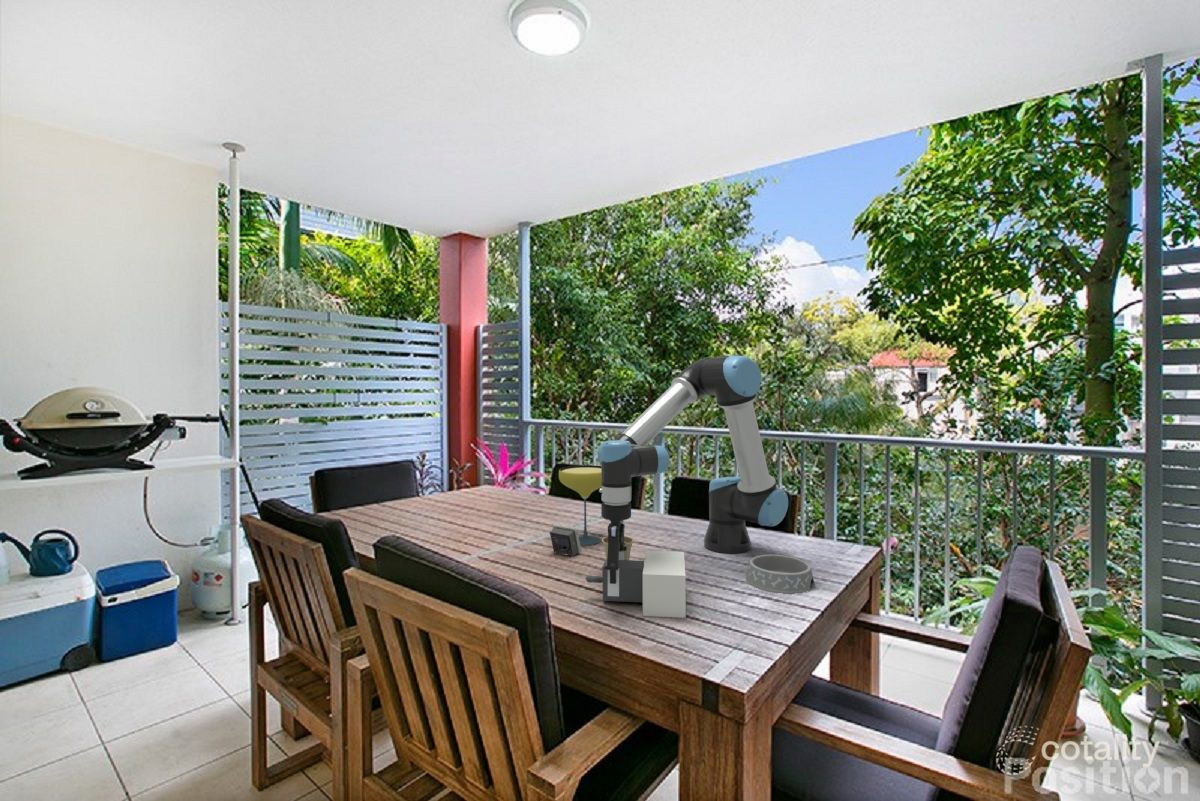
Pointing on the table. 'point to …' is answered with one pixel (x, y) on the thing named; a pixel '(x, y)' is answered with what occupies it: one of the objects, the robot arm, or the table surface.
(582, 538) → the cocktail glass
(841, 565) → the table surface
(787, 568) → the dog bowl
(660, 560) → the white rectangular block
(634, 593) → the plug
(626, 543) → the flower pot
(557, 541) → the electrical switch
